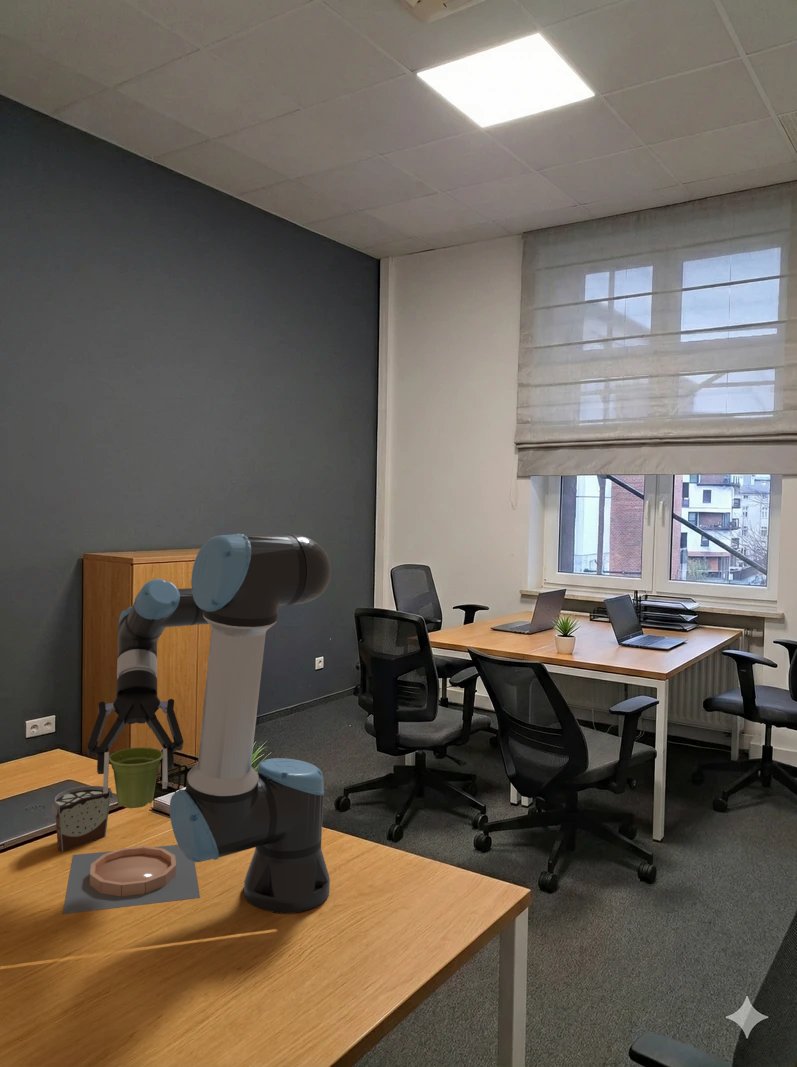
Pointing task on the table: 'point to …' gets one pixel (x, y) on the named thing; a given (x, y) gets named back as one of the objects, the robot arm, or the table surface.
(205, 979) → the table surface
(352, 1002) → the table surface
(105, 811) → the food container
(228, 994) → the table surface
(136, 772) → the plant pot
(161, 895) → the desk mat
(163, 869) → the saucer
